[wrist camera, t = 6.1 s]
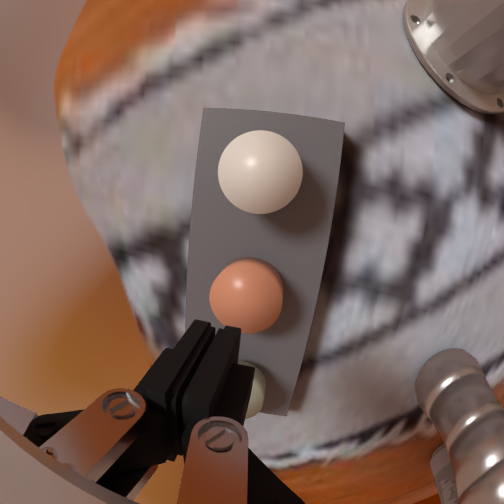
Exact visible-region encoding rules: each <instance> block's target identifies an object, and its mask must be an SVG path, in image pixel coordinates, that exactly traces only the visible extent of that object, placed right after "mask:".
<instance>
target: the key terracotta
mask: <svg viewBox="0 0 504 504" xmlns="http://www.w3.org/2000/svg"><path fill="white" fill-rule="evenodd" d="M283 292H284V287H283V282H282V279H281V277H280V275H279V273H278V272H277V270H276V269H275V268H274V267H273V266H272V265H271V264H269V263H268V262H266V261H264V260H262V259H259V258H254V257H244V258H239V259H236V260H234V261H232V262H231V263H229V264H228V265H227V266H226V267H225V268H224V269H223V270H222V271H221V273H220V274H219V275H218V276H217V278H216V279H215V280H214V282H213V284H212V286H211V289H210V295H209V300H210V305H211V309H212V311H213V313H214V315H215V316H216V318H217V319H218V320H219V321H220V322H221V323H222V324H223V325H224V326H226V325H227V326H232V327H238V328H241V333H257V332H260V331H263V330H265V329H267V328H269V327H270V326H271V325H272V324H273V323H274V322H275V321H276V320H277V318H278V317H279V315H280V312H281V309H282V302H283Z"/></svg>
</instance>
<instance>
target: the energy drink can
mask: <svg viewBox="0 0 504 504" xmlns="http://www.w3.org/2000/svg"><path fill="white" fill-rule="evenodd" d="M430 467H431V470H432V473H433V476H434V479H435V482H436V486H437V489H438V492H439V496H440V499H441V503H442V504H459V499H458V493H457V487H456V480H455V475H454V469H453V466H452V463H451V460H450V457H449V453H448V451H447V448H446V445H445V443H444V444H442V445H441V446H439V447H438V448H437V449H436V450H435V451H434V453H433V454H432V459H431V461H430Z"/></svg>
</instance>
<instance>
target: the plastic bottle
mask: <svg viewBox="0 0 504 504" xmlns="http://www.w3.org/2000/svg"><path fill="white" fill-rule="evenodd" d="M415 392H416V397H417V401H418V404H419V406H420V407H421V409H422V410H423V412H424V413H425V414H426V415H427V417H428V418H429V419H430V420H431V421H432V422H433V424H434V426H435V428H436V429H437V431H438V433H439V434H440V436H441V438H442V440H443V441H444V443H445V445H446V448H447V451H448V453H449V457H450V460H451V463H452V466H453V469H454V475H455V480H456V487H457V493H458V499H459V504H504V408H503V406H502V405H501V404H500V403H499V401H498V400H497V398H496V396H495V394H494V393H493V391H492V389H491V387H490V386H489V384H488V382H487V381H486V379H485V375H484V373H483V371H482V369H481V367H480V365H479V364H478V362H477V360H476V359H475V358H474V357H473V356H472V355H470V354H469V353H467V352H466V351H464V350H462V349H447V350H444V351H441V352H439V353H437V354H435V355H434V356H432V357H431V358H430V359H429V360H428V361H427V362H426V363H425V364H424V365H423V367H422V368H421V370H420V372H419V374H418V377H417V380H416V383H415Z"/></svg>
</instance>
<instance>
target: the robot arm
mask: <svg viewBox="0 0 504 504" xmlns="http://www.w3.org/2000/svg"><path fill="white" fill-rule="evenodd" d="M403 25H404V28H405V32H406V36H407V38H408V40H409V43H410V45H411V47H412V49H413V51H414V52H415V54H416V56H417V57H418V59H419V61H420V62H421V63H422V65H423V66H424V67H425V69H426V70H427V72H428V73H429V74H430V75H431V76H432V77H433V79H434V80H435V81H436V82H437V83H438V84H439V85H440V86H441V87H442V88H443V89H444V90H445V91H446V92H447V93H448V94H449V95H451V96H452V97H453V98H455V99H456V100H457V101H459V102H460V103H462V104H463V105H465V106H467V107H469V108H470V109H472V110H475V111H478V112H480V113H484V114H498V113H502V112H504V0H408V1H407V3H406V4H405V7H404V11H403ZM215 333H216V328H215V327H212V326H211V323H210V322H207V321H202V320H197V319H195V320H194V321H193V322H192V324H191V325H190V327H189V328H188V329H187V331H186V332H185V334H184V335H183V336H182V338H181V339H180V340H179V342H178V343H177V345H176V346H175V347H174V349H170V348H166V349H165V350H164V351H163V352H162V353H161V355H160V356H159V357H158V359H157V360H156V361H155V363H154V364H153V365H152V366H151V368H150V369H149V370H148V372H147V373H146V374H145V376H144V377H143V378H142V380H141V381H140V382H139V384H138V385H137V386H136V388H135V389H134V390H130V389H124V388H118V389H112V390H109V391H107V392H106V393H104V394H102V395H101V396H100V397H99V398H97V399H96V400H95V401H94V402H93V403H92V404H90V405H89V406H88V407H87V408H86V409H84V410H77V411H71V412H63V413H55V414H45V415H41V416H38V415H37V414H36V413H35V412H33V411H31V410H28V409H26V408H24V407H21V406H19V405H17V404H15V403H13V402H10V401H8V400H6V399H4V398H2V397H0V504H139V503H137V502H134V501H133V500H134V498H135V497H136V496H137V494H138V493H139V492H140V491H141V489H142V488H143V487H144V485H145V484H146V483H147V482H148V480H149V479H150V478H151V477H152V475H153V474H154V473H155V471H156V469H157V468H158V464H162V463H165V462H166V460H170V461H175V459H176V457H177V455H181V456H182V455H183V457H184V470H183V475H182V479H181V484H180V490H179V494H178V499H177V504H305V503H304V502H303V500H302V499H300V498H299V497H298V496H297V495H296V494H295V493H294V492H293V491H292V490H290V489H289V488H288V487H287V486H286V485H285V484H284V483H283V482H282V481H281V480H280V479H279V478H278V477H277V476H276V475H275V474H274V473H273V472H272V471H271V470H270V469H268V468H267V467H266V465H265V464H264V463H263V462H262V461H261V460H260V459H259V458H258V457H257V456H256V455H255V454H254V453H253V452H252V451H251V450H250V449H249V448H248V434H247V431H246V430H245V428H244V427H243V425H244V421H245V417H246V413H247V409H248V405H249V401H250V396H251V391H252V386H253V380H254V373H255V367H252V366H247V365H241V364H238V357H239V348H240V339H241V328H238V327H232V326H227V325H226V326H225V327H224V329H222V328H219V329H218V331H217V333H216V335H215Z"/></svg>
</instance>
